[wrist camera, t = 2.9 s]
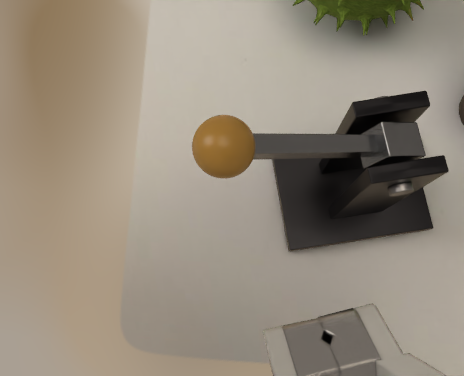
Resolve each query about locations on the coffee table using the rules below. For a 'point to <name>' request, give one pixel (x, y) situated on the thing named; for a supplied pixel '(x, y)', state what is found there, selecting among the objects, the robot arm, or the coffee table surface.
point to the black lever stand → (357, 185)
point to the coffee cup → (461, 110)
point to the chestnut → (361, 10)
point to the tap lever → (299, 145)
